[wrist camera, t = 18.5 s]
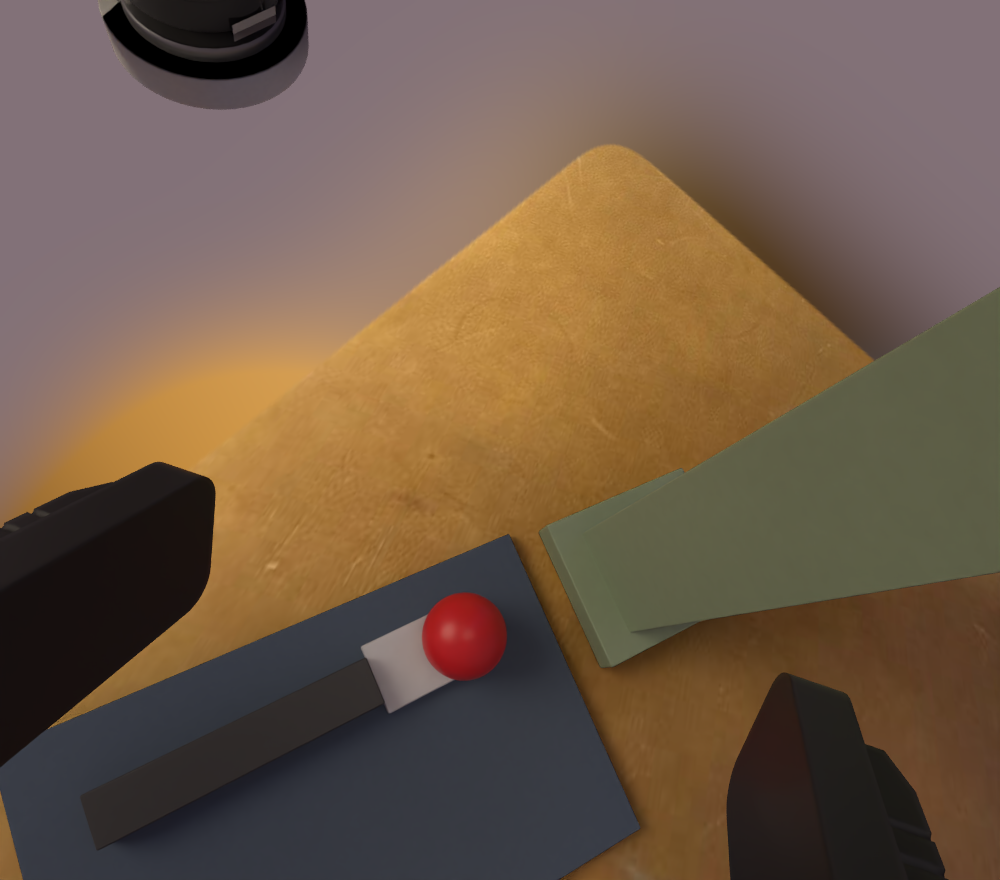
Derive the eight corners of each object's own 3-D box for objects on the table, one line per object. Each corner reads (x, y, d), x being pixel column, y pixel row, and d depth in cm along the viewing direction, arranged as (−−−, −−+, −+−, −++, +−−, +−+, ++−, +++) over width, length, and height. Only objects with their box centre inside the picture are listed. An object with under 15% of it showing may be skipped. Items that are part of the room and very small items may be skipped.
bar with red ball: (114, 864, 26) (82, 892, 22) (84, 769, 26) (48, 782, 23) (509, 657, 31) (531, 655, 28) (476, 584, 32) (492, 573, 29)
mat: (101, 1160, 23) (97, 1169, 23) (-5, 752, 26) (-10, 753, 26) (636, 826, 31) (641, 828, 30) (506, 535, 33) (509, 533, 33)
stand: (554, 692, 32) (2613, 802, 3) (492, 551, 33) (1495, -262, 5) (732, 599, 35) (2484, 243, 7) (669, 475, 37) (1870, -259, 8)
